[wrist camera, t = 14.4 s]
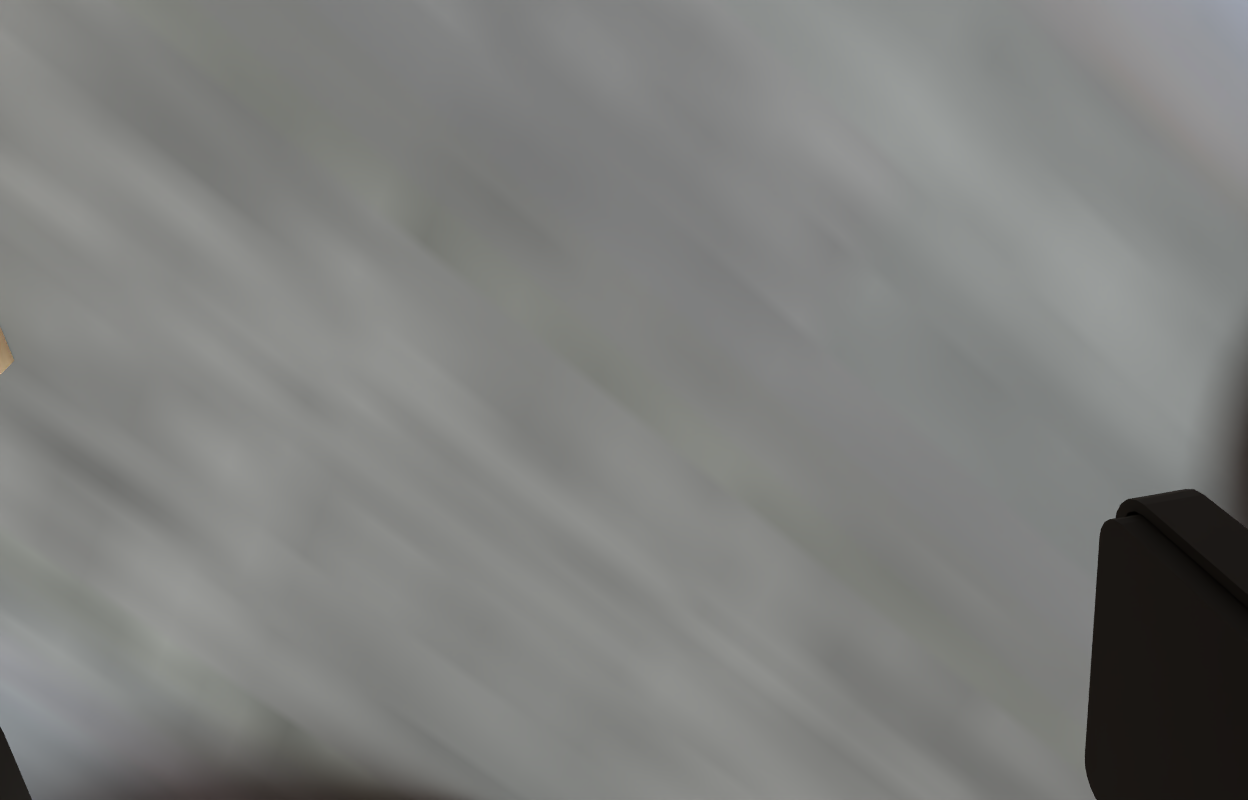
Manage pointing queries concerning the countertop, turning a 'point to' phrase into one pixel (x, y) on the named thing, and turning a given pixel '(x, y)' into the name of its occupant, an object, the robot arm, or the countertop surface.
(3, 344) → the terracotta box on board
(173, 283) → the countertop surface
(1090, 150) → the countertop surface
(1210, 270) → the countertop surface
